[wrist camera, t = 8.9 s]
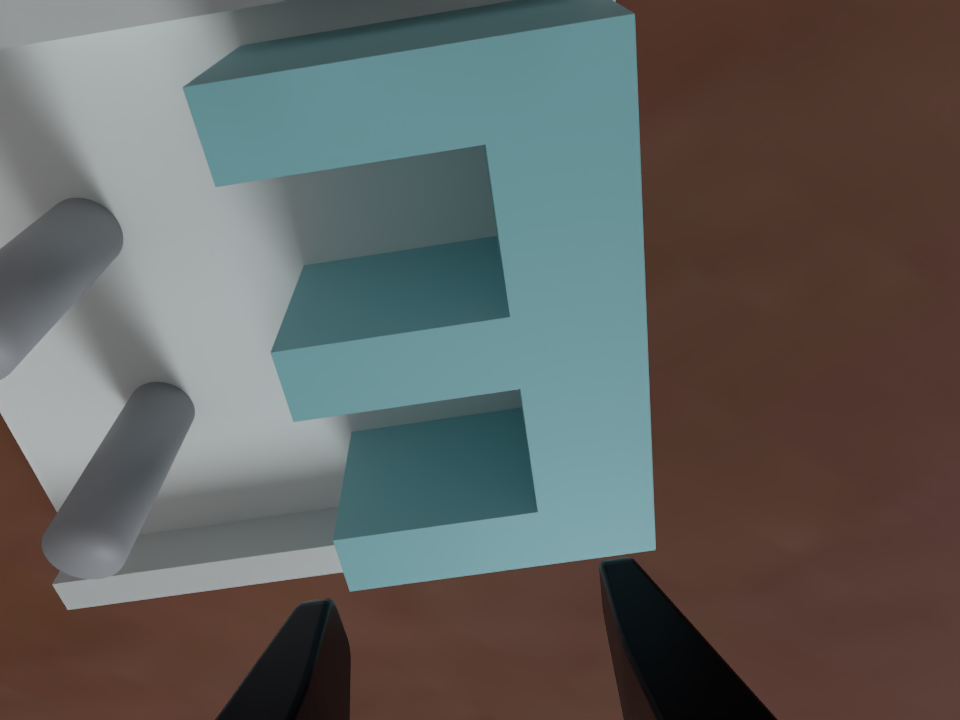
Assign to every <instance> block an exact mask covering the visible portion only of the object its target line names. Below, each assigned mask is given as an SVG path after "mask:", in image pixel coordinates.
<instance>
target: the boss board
mask: <svg viewBox="0 0 960 720" xmlns="http://www.w3.org/2000/svg"><path fill="white" fill-rule="evenodd" d="M507 1H513V0H0V413H1V415H2V416H3V418H4V420H5V422H6V423H7V425H8V427H9V429H10V431H11V432H12V434H13V436H14V438H15V439H16V441H17V443H18V445H19V446H20V448H21V450H22V452H23V453H24V455H25V457H26V459H27V460H28V462H29V464H30V466H31V467H32V469H33V471H34V473H35V474H36V476H37V478H38V480H39V481H40V483H41V485H42V487H43V488H44V490H45V492H46V494H47V495H48V497H49V499H50V501H51V503H52V504H53V506H54V508H55V510H56V511H57V514H56V516H55V517H54V519H53V521H52V522H51V524H50V525H49V527H48V528H47V530H46V532H45V533H44V535H43V537H42V544H41V545H42V550H43V553H44V555H45V556H46V558H47V559H48V561H49V562H50V563H51V564H52V565H53V566H55V567H56V568H57V569H59V570H60V571H59V573H58V575H57V577H56V578H55V580H54V582H53V584H52V585H53V587H54V588H55V590H56V592H57V593H58V595H59V596H60V598H61V600H62V601H63V603H64V605H65V606H66V608H67V610H71V609H79V608H86V607H93V606H100V605H108V604H115V603H122V602H129V601H137V600H144V599H151V598H159V597H166V596H173V595H180V594H188V593H195V592H202V591H209V590H217V589H224V588H231V587H239V586H246V585H253V584H260V583H268V582H275V581H282V580H289V579H297V578H304V577H311V576H319V575H326V574H333V573H340V572H343V570H342V566H341V563H340V560H339V557H338V554H337V551H336V548H335V545H334V542H333V537H334V531H335V525H336V519H337V514H338V508H339V502H340V496H341V490H342V484H343V479H344V473H345V467H346V461H347V455H348V449H349V444H350V438H351V432H355V431H362V430H369V429H375V428H382V427H389V426H396V425H403V424H410V423H417V422H424V421H431V420H438V419H445V418H452V417H459V416H466V415H473V414H480V413H486V412H493V411H500V410H507V409H514V408H521V400H520V393H519V389H518V390H511V391H504V392H497V393H490V394H484V395H477V396H470V397H463V398H456V399H449V400H442V401H435V402H428V403H422V404H415V405H408V406H401V407H394V408H387V409H380V410H373V411H366V412H359V413H353V414H346V415H339V416H332V417H325V418H318V419H311V420H304V421H297V422H293V419H292V416H291V413H290V410H289V407H288V404H287V401H286V398H285V395H284V392H283V389H282V386H281V383H280V380H279V377H278V374H277V371H276V368H275V365H274V362H273V359H272V356H271V350H272V347H273V345H274V342H275V339H276V337H277V334H278V332H279V329H280V326H281V324H282V321H283V318H284V316H285V313H286V311H287V308H288V305H289V303H290V300H291V297H292V295H293V292H294V290H295V287H296V284H297V282H298V279H299V276H300V274H301V271H302V268H303V266H304V265H309V264H316V263H322V262H329V261H335V260H342V259H348V258H355V257H362V256H368V255H375V254H381V253H388V252H394V251H401V250H407V249H414V248H420V247H427V246H433V245H440V244H446V243H453V242H460V241H466V240H473V239H479V238H486V237H492V236H497V232H496V225H495V218H494V211H493V204H492V197H491V190H490V184H489V177H488V170H487V163H486V156H485V149H484V145H480V146H474V147H467V148H461V149H455V150H448V151H442V152H436V153H429V154H423V155H417V156H410V157H404V158H398V159H391V160H385V161H378V162H372V163H366V164H359V165H353V166H347V167H340V168H334V169H328V170H321V171H315V172H309V173H302V174H296V175H290V176H283V177H277V178H271V179H264V180H258V181H252V182H245V183H239V184H233V185H226V186H220V187H215V184H214V181H213V178H212V175H211V172H210V169H209V166H208V163H207V160H206V157H205V154H204V151H203V148H202V145H201V142H200V139H199V136H198V133H197V130H196V127H195V124H194V121H193V118H192V115H191V112H190V109H189V106H188V103H187V100H186V97H185V94H184V91H183V88H182V87H184V86H185V85H186V84H188V83H189V82H191V81H192V80H193V79H195V78H196V77H197V76H199V75H200V74H202V73H203V72H204V71H206V70H207V69H209V68H210V67H211V66H213V65H214V64H216V63H217V62H218V61H220V60H221V59H222V58H224V57H225V56H227V55H228V54H229V53H231V52H232V51H234V50H235V49H236V48H238V47H239V46H241V45H246V44H252V43H258V42H265V41H271V40H277V39H283V38H289V37H295V36H301V35H307V34H313V33H319V32H325V31H331V30H337V29H343V28H350V27H356V26H362V25H368V24H374V23H380V22H386V21H392V20H398V19H404V18H410V17H416V16H422V15H428V14H434V13H441V12H447V11H453V10H459V9H465V8H471V7H477V6H483V5H489V4H495V3H501V2H507ZM613 1H614V2H616V0H613Z"/></svg>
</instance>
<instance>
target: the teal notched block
mask: <svg viewBox="0 0 960 720" xmlns="http://www.w3.org/2000/svg"><path fill="white" fill-rule="evenodd" d="M182 88H183V91H184V94H185V97H186V100H187V103H188V106H189V109H190V112H191V115H192V118H193V121H194V124H195V127H196V130H197V133H198V136H199V139H200V142H201V145H202V148H203V151H204V154H205V157H206V160H207V163H208V166H209V169H210V172H211V175H212V178H213V181H214V184H215V187H220V186H226V185H233V184H239V183H245V182H252V181H258V180H264V179H271V178H277V177H283V176H290V175H296V174H302V173H309V172H315V171H321V170H328V169H334V168H340V167H347V166H353V165H359V164H366V163H372V162H378V161H385V160H391V159H398V158H404V157H410V156H417V155H423V154H429V153H436V152H442V151H448V150H455V149H461V148H467V147H474V146H480V145H484V149H485V156H486V163H487V170H488V177H489V184H490V190H491V197H492V204H493V211H494V218H495V225H496V232H497V236H492V237H486V238H479V239H473V240H466V241H460V242H453V243H446V244H440V245H433V246H427V247H420V248H414V249H407V250H401V251H394V252H388V253H381V254H375V255H368V256H362V257H355V258H348V259H342V260H335V261H329V262H322V263H316V264H309V265H304V266H303V268H302V271H301V274H300V276H299V279H298V282H297V284H296V287H295V290H294V292H293V295H292V297H291V300H290V303H289V305H288V308H287V311H286V313H285V316H284V318H283V321H282V324H281V326H280V329H279V332H278V334H277V337H276V339H275V342H274V345H273V347H272V350H271V356H272V359H273V362H274V365H275V368H276V371H277V374H278V377H279V380H280V383H281V386H282V389H283V392H284V395H285V398H286V401H287V404H288V407H289V410H290V413H291V416H292V419H293V422H297V421H304V420H311V419H318V418H325V417H332V416H339V415H346V414H353V413H359V412H366V411H373V410H380V409H387V408H394V407H401V406H408V405H415V404H422V403H428V402H435V401H442V400H449V399H456V398H463V397H470V396H477V395H484V394H490V393H497V392H504V391H511V390H518V389H519V393H520V400H521V408H514V409H507V410H500V411H493V412H486V413H480V414H473V415H466V416H459V417H452V418H445V419H438V420H431V421H424V422H417V423H410V424H403V425H396V426H389V427H382V428H375V429H369V430H362V431H355V432H351V438H350V444H349V449H348V455H347V461H346V467H345V473H344V479H343V484H342V490H341V496H340V502H339V508H338V514H337V519H336V525H335V531H334V537H333V542H334V545H335V548H336V551H337V554H338V557H339V560H340V563H341V566H342V570H343V573H344V576H345V579H346V582H347V585H348V588H349V591H358V590H365V589H372V588H380V587H387V586H394V585H402V584H409V583H417V582H424V581H431V580H439V579H446V578H453V577H461V576H468V575H475V574H483V573H490V572H497V571H505V570H512V569H519V568H527V567H534V566H542V565H549V564H556V563H564V562H571V561H578V560H586V559H593V558H600V557H608V556H615V555H622V554H630V553H637V552H644V551H652V550H656V545H655V519H654V493H653V468H652V442H651V416H650V391H649V365H648V340H647V314H646V288H645V263H644V237H643V211H642V186H641V160H640V135H639V109H638V83H637V58H636V32H635V13H633V12H631V11H630V10H628V9H626V8H624V7H623V6H621V5H619V4H618V3H616V2H614V1H613V0H513V1H507V2H501V3H495V4H489V5H483V6H477V7H471V8H465V9H459V10H453V11H447V12H441V13H434V14H428V15H422V16H416V17H410V18H404V19H398V20H392V21H386V22H380V23H374V24H368V25H362V26H356V27H350V28H343V29H337V30H331V31H325V32H319V33H313V34H307V35H301V36H295V37H289V38H283V39H277V40H271V41H265V42H258V43H252V44H246V45H241V46H239V47H238V48H236V49H235V50H234V51H232V52H231V53H229V54H228V55H227V56H225V57H224V58H222V59H221V60H220V61H218V62H217V63H216V64H214V65H213V66H211V67H210V68H209V69H207V70H206V71H204V72H203V73H202V74H200V75H199V76H197V77H196V78H195V79H193V80H192V81H191V82H189V83H188V84H186V85H185V86H184V87H182Z"/></svg>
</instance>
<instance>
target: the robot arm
mask: <svg viewBox="0 0 960 720" xmlns="http://www.w3.org/2000/svg"><path fill="white" fill-rule="evenodd" d="M599 573H600V584H601V594H602V605H603V613H604V619H605V625H606V630H607V635H608V641H609V646H610V651H611V656H612V661H613V666H614V671H615V677H616V682H617V687H618V692H619V697H620V702H621V707H622V712H623V718H624V720H777V719H776V717H775V716H774V715H773V714H772V713H771V712H770V711H769V710H768V708H767V707H766V706H765V705H764V704H763V703H762V702H761V701H760V700H759V698H758V697H757V696H756V695H755V694H754V693H753V692H752V691H751V689H750V688H749V687H748V686H747V685H746V684H745V683H744V682H743V681H742V679H741V678H740V677H739V676H738V675H737V674H736V673H735V672H734V670H733V669H732V668H731V667H730V666H729V665H728V664H727V663H726V662H725V660H724V659H723V658H722V657H721V656H720V655H719V654H718V653H717V651H716V650H715V649H714V648H713V647H712V646H711V645H710V644H709V643H708V641H707V640H706V639H705V638H704V637H703V636H702V635H701V634H700V632H699V631H698V630H697V629H696V628H695V627H694V626H693V625H692V624H691V622H690V621H689V620H688V619H687V618H686V617H685V616H684V615H683V614H682V612H681V611H680V610H679V609H678V608H677V607H676V606H675V605H674V603H673V602H672V601H671V600H670V599H669V598H668V597H667V596H666V595H665V593H664V592H663V591H662V590H661V589H660V588H659V587H658V586H657V584H656V583H655V582H654V581H653V580H652V579H651V578H650V577H649V576H648V574H647V573H646V572H645V571H644V570H643V569H642V568H641V567H640V565H639V564H638V563H637V562H636V561H635V560H634V559H632V558H629V557H625V558H618V559H610V560H604V561H602V562H601V563H600V565H599ZM350 667H351V656H350V646H349V641H348V638H347V635H346V633H345V630H344V627H343V624H342V621H341V618H340V615H339V613H338V610H337V607H336V605H335V603H334V602H333V600H331V599H327V598H326V599H319V600H312V601H305V602H302V603H300V604H299V605H298V606H297V607H296V608H295V609H294V611H293V612H292V613H291V615H290V616H289V618H288V619H287V620H286V622H285V623H284V625H283V626H282V627H281V629H280V630H279V632H278V633H277V634H276V636H275V637H274V639H273V640H272V641H271V643H270V644H269V646H268V647H267V648H266V650H265V651H264V652H263V654H262V655H261V657H260V658H259V659H258V661H257V662H256V664H255V665H254V666H253V668H252V669H251V671H250V672H249V673H248V675H247V676H246V678H245V679H244V680H243V682H242V683H241V684H240V686H239V687H238V689H237V690H236V691H235V693H234V694H233V696H232V697H231V698H230V700H229V701H228V703H227V704H226V705H225V707H224V708H223V710H222V711H221V712H220V714H219V715H218V716H217V718H216V719H215V720H350Z"/></svg>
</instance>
